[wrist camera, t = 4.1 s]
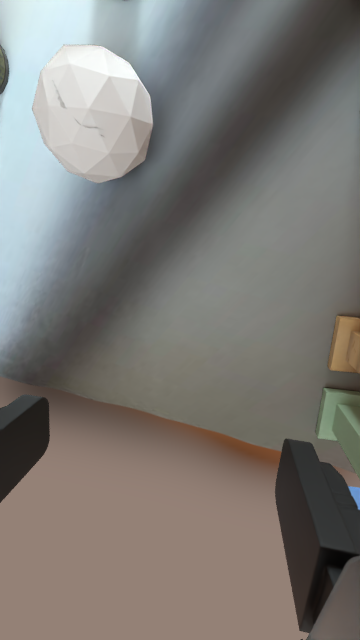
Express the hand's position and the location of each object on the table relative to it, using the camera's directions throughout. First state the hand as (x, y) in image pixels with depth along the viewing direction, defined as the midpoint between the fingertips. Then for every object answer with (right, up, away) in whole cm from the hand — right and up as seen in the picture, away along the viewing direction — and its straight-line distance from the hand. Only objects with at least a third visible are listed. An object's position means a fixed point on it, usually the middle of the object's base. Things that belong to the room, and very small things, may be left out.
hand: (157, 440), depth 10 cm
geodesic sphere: (-8, +30, +34) cm, 46 cm away
